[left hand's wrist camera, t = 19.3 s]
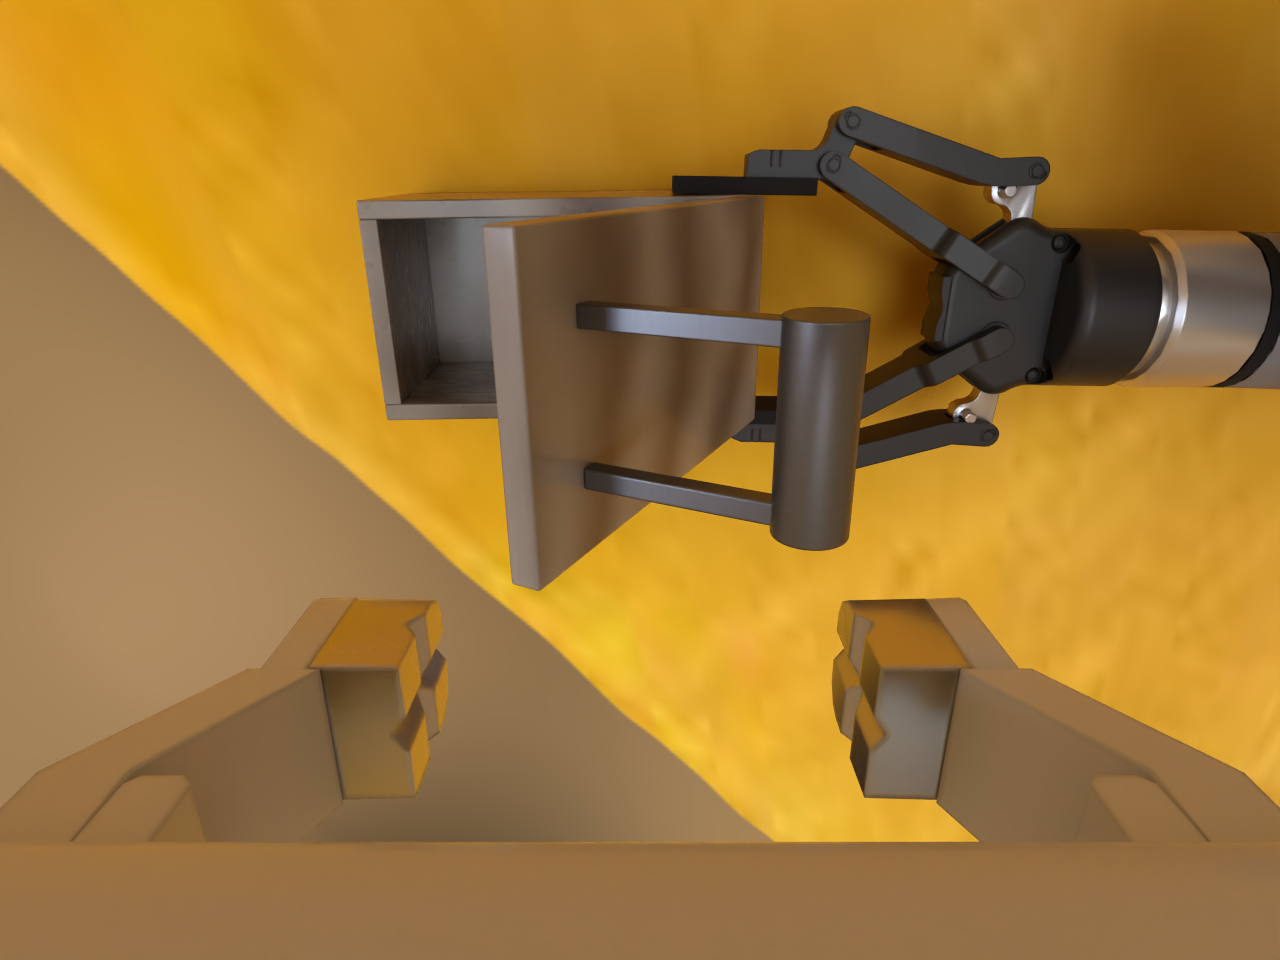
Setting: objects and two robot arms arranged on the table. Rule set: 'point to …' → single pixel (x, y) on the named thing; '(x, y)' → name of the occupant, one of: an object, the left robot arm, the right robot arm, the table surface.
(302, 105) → the table surface
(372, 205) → the chest
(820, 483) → the lid
